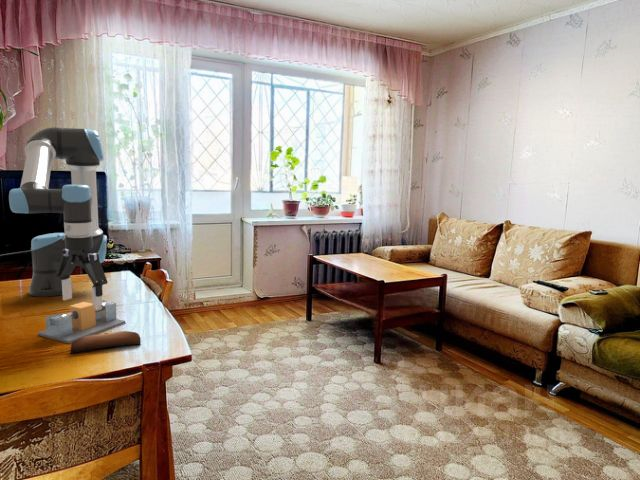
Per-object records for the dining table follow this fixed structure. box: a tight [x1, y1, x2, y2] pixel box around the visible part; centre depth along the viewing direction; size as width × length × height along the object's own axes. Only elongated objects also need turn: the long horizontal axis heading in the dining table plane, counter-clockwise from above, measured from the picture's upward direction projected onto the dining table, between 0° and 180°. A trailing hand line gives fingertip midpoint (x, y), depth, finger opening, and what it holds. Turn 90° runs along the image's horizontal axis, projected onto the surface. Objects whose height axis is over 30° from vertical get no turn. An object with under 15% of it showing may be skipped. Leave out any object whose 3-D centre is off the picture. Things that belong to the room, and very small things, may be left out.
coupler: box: [69, 301, 96, 330], centre depth 142 cm, size 5×5×7 cm
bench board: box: [37, 318, 126, 345], centre depth 142 cm, size 14×20×1 cm
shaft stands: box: [45, 299, 118, 338], centre depth 142 cm, size 6×20×6 cm, turn 155°
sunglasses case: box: [70, 330, 141, 355], centre depth 130 cm, size 18×7×7 cm
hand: (82, 302), depth 141 cm, fingers open, 13 cm apart
